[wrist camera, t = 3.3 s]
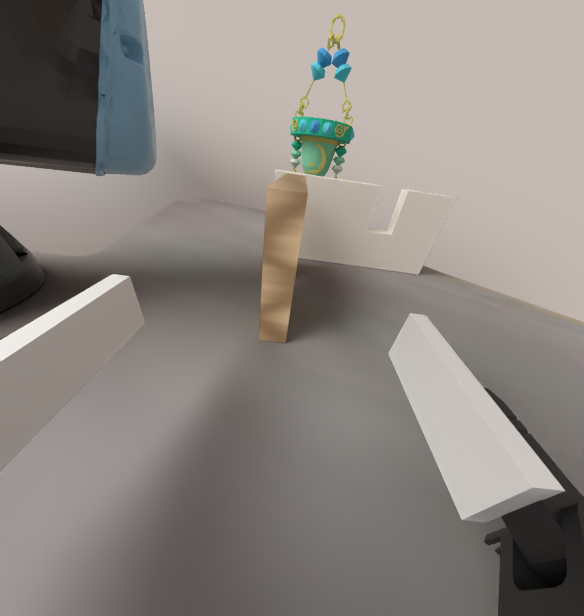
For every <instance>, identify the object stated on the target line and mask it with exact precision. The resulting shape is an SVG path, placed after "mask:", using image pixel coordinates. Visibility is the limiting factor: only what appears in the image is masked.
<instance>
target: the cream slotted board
mask: <svg viewBox="0 0 584 616" xmlns="http://www.w3.org/2000/svg"><path fill="white" fill-rule="evenodd" d="M286 173H289V174H296V175H302V176H305V177H306V183H307V190H308V197H307V203H306V210H305V217H304V223H303V230H302V237H301V243H300V250H299V257H298V258H302V259H309V260H316V261H324V262H331V263H338V264H345V265H353V266H360V267H367V268H375V269H382V270H389V271H396V272H404V273H411V274H418V275H419V273H420V271H421V269H422V267H423V265H424V263H425V261H426V259H427V257H428V255H429V253H430V251H431V249H432V247H433V245H434V243H435V241H436V239H437V237H438V235H439V233H440V231H441V230H442V227H443V226H444V224H445V222H446V220H447V217H448V215H449V214H450V212H451V210H452V208H453V206H454V204H455V202H456V200H457V198H456V197H452V196H447V195H441V194H434V193H427V192H421V191H413V190H407V189H402V191H401V193H400V196H399V199H398V202H397V205H396V207H395V210H394V213H393V215H392V218H391V221H390V223H389V226H388V229H387V231H384V230H377V229H370V228H369V226H370V223H371V220H372V217H373V214H374V211H375V208H376V205H377V201H378V198H379V195H380V192H381V189H382V186H379V185H374V184H368V183H362V182H355V181H348V180H342V179H335V178H329V177H322V176H316V175H309V174H302V173H296V172H289V171H282V170H275V175H274V182H275V181H276V180H278V179H279V178H280V177H282V176H283V175H285V174H286Z"/></svg>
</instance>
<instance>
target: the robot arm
mask: <svg viewBox="0 0 584 616" xmlns="http://www.w3.org/2000/svg"><path fill="white" fill-rule="evenodd" d="M155 163H156V134H155V120H154V107H153V95H152V84H151V73H150V61H149V51H148V41H147V31H146V21H145V12H144V4H143V0H0V164H7V165H16V166H25V167H35V168H44V169H53V170H63V171H72V172H81V173H92V174H96V176H103V175H105V174H125V175H142V174H146V173H148V172H149V171H150V170H151V169H152V168H153V167H154V165H155ZM44 278H45V275H44V273H43V271H42V269H41V267H40V266H39V264H38V262H37V261H36V259H35V257H34V256H33V254H32V253H31V252H30V251H29V250H28V249H27V248H25V247H24V246H23V245H22V244H21V243H20V242H19V241H17V240H16V239H15V238H14V237H13V236H12V235H11V234H10V233H8V232H7V231H6V230H5V229H4V228H3V227H2V226H1V225H0V312H1V311H3V310H5V309H7V308H9V307H11V306H13V305H15V304H17V303H19V302H20V301H22V300H24V299H25V298H27V297H28V296H30V295H31V294H33V293H34V292H35V291H36V290H37V289H38V288H39V287H40V286H41V285H42V283H43V282H44ZM144 324H145V321H144V318H143V315H142V312H141V308H140V305H139V302H138V299H137V296H136V293H135V290H134V287H133V284H132V281H131V278H130V276H124V275H116V274H112V275H110V276H108V277H107V278H105V279H103V280H102V281H100V282H98V283H97V284H95V285H93V286H91V287H90V288H88V289H86V290H85V291H83V292H81V293H80V294H78V295H76V296H74V297H73V298H71V299H69V300H68V301H66V302H64V303H63V304H61V305H59V306H57V307H56V308H54V309H52V310H51V311H49V312H47V313H46V314H44V315H42V316H41V317H39V318H37V319H35V320H34V321H32V322H30V323H29V324H27V325H25V326H24V327H22V328H20V329H18V330H17V331H15V332H13V333H12V334H10V335H8V336H5V337H3V338H0V472H1V471H2V470H3V468H4V467H5V466H6V465H7V464H8V463H9V462H10V461H11V460H12V459H13V458H14V457H15V456H16V455H17V454H18V453H19V452H20V451H21V450H22V449H23V448H24V447H25V446H26V445H27V444H28V443H29V442H30V441H31V440H32V439H33V438H34V437H35V436H36V435H37V434H38V433H39V432H40V431H41V430H42V429H43V428H44V427H45V426H46V425H47V423H48V422H49V421H50V420H51V419H52V418H53V417H54V416H55V415H56V414H57V413H58V412H59V411H60V410H61V409H62V408H63V407H64V406H65V405H66V404H67V403H68V402H69V401H70V400H71V399H72V398H73V397H74V396H75V395H76V394H77V393H78V392H79V391H80V390H81V389H82V388H83V387H84V386H85V385H86V384H87V383H88V382H89V381H90V380H91V378H92V377H93V376H94V375H95V374H96V373H97V372H98V371H99V370H100V369H101V368H102V367H103V366H104V365H105V364H106V363H107V362H108V361H109V360H110V359H111V358H112V357H113V356H114V355H115V354H116V353H117V352H118V351H119V350H120V349H121V348H122V347H123V346H124V345H125V344H126V343H127V342H128V341H129V340H130V339H131V338H132V337H133V336H134V334H135V333H136V332H137V331H138V330H139V329H140V328H141V327H142V326H143V325H144ZM388 354H389V356H390V359H391V361H392V363H393V366H394V368H395V370H396V372H397V375H398V377H399V379H400V381H401V384H402V386H403V388H404V390H405V393H406V395H407V397H408V399H409V402H410V404H411V406H412V409H413V411H414V413H415V415H416V418H417V420H418V422H419V424H420V427H421V429H422V431H423V433H424V436H425V438H426V440H427V443H428V445H429V447H430V449H431V452H432V454H433V456H434V458H435V461H436V463H437V465H438V467H439V470H440V472H441V474H442V477H443V479H444V481H445V483H446V486H447V488H448V490H449V492H450V495H451V497H452V499H453V501H454V504H455V506H456V508H457V510H458V513H459V515H460V517H461V520H466V521H476V522H489V521H492V520H494V519H497V518H499V517H502V519H503V521H504V522H505V524H506V526H507V528H504V529H501V530H498V531H495V532H492V533H490V534H488V535H486V538H485V540H484V542H485V543H486V544H487V545H491V544H495V543H498V542H501V546H500V547H498V548H497V549H495V551H496V552H497V553H498V554H499V555H500V580H499V606H498V616H584V497H583V496H582V495H581V494H580V493H579V491H578V490H577V489H576V488H575V487H574V486H573V485H572V483H571V482H570V481H569V480H568V479H567V477H566V476H565V475H564V474H563V473H562V471H561V470H560V469H559V468H558V467H557V465H556V464H555V463H554V462H553V461H552V459H551V458H550V457H549V456H548V455H547V453H546V452H545V451H544V450H543V449H542V447H541V446H540V445H539V444H538V443H537V441H536V440H535V439H534V438H533V437H532V435H531V434H528V433H527V429H526V428H525V427H524V426H523V425H522V423H521V422H520V421H517V419H516V418H517V417H516V416H515V415H514V414H513V413H512V411H511V410H510V409H509V408H508V407H507V405H506V404H505V403H504V402H503V401H502V400H501V399H499V398H498V397H497V396H496V395H495V394H494V393H492V392H491V391H490V390H489V389H487V388H483V387H482V385H481V384H480V383H479V382H478V380H477V379H476V378H475V377H474V375H473V374H472V373H471V372H470V370H469V369H468V368H467V367H466V365H465V364H464V363H463V362H462V360H461V359H460V358H459V357H458V355H457V354H456V353H455V351H454V350H453V349H452V348H451V346H450V345H449V344H448V343H447V341H446V340H445V339H444V338H443V336H442V335H441V334H440V333H439V331H438V330H437V329H436V328H435V326H434V325H433V324H432V323H431V321H430V320H429V319H428V318H427V316H426V315H420V314H413V313H410V314H409V316H408V318H407V320H406V322H405V323H404V325H403V327H402V329H401V331H400V333H399V334H398V336H397V338H396V340H395V342H394V344H393V346H392V347H391V349H390V351H389V353H388Z"/></svg>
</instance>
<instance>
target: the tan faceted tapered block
mask: <svg viewBox="0 0 584 616" xmlns="http://www.w3.org/2000/svg"><path fill="white" fill-rule="evenodd" d="M266 195H267V196H266V212H265V231H264V250H263V269H262V288H261V307H260V326H259V340H264V341H272V342H280V343H286V337H287V330H288V323H289V317H290V310H291V303H292V297H293V290H294V283H295V277H296V270H297V263H298V257H299V250H300V243H301V237H302V230H303V223H304V217H305V210H306V203H307V197H308V190H307V183H306V177H305V176H302V175H296V174H289V173H286V174H285V175H283V176H282V177H280V178H279V179H278V180H276V181H275V182H273V183H272V184H270V185H269V186H268V187H267V194H266Z"/></svg>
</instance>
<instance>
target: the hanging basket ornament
mask: <svg viewBox="0 0 584 616" xmlns="http://www.w3.org/2000/svg"><path fill="white" fill-rule="evenodd" d="M337 18H341V20H342V22H343V29H342V33H341V36H340V37H339V36H338V34H336V38H335V37H334V33H333V32H332V26H333V24H334V22H335V20H336V19H337ZM344 29H345V20H344V17H343V15H341V14H339V13H338V14H337V16H336V17H335V18H334V19H333V20H332V24H331V28H330V37H329V39H328V47H327V51H326V50H325V49H324V48H321V49H319V50H318V63H317V62H314V63H313V64H312V65H311V68H312V74H313V82H314V80H318V79H322V78H324V74H325V70H324V69H323V68H324V67H327V66H329V65H331V55H330V54H329V53H328V50H329V49H330V48H332V47H333V46H334V44H337V47H338V51H337V52H336V53H335V55H334V57H333V61H332V64H333V65H334V66H335V67H337V70H336V73H335V77H334V78H336V79H338V80H340V81H342V82H343V83H344V82H345V80H346V79H347V77H348V74H349V73H350V70H351V67H350V66H349V65H348V64H346V62H347V59H348V56H349V52H348V51H347V50H346V49H340V43H339V41H340V40H341V39H342V37H343V33H344ZM330 40H331V41H332V42H333V43H332V45H330ZM313 82H312V84H313ZM312 84H311V86H312ZM311 86H310V88H311ZM310 88H309V90H308V92H307V95H308V93H309V91H310ZM344 90H345V83H344ZM307 95H306V96H305V97H303V98H301V100H300V109H299V112H298V111H296V112H295V117H294V118H292V120H291V122H292V124H291V126H290V129H291V135H293V136H294V139H295V141H297V142H295V141H294V142H293V143H292V146H293V147H294V149H295V150H296V151H295V150H292V152H291V154H292V156H293V157H294V159H291V161H290V162H291V164H292V165H293V167H294V169H293V171H292V172H296V171H295V167H296V166H298V165H299V164H300V161H299V160H296V159H297V158H298V157H299V156H301V153H300V151H298V150H299V149H300V148H301V147H302V166H303V170H304V173H305V174H309V175H316V176H322V177H324V176H325V174H326V173H327V171H328V169H329V167H330V164H331V161H332V158H333V156H334V153H335V151H336V153H337V155H338V156H339V157H335V158H334V159H333V160H334V162H335V163H336V165H337V166H335V165H334V166H333V167H332V169H333V171H334V172H335V174H336V175H337V174H338V173H339V172H341V171H342V170H343V169H342V167H341V166H339V165H340V164H342V163H343V162H345V161H344V158H342V157H341V156H343V155H344V154H345V153H346V149H345V148H344V147H345V146H346V144H349V143H350V141H351V140H352V139H353V138H354V132H353V128H352V126H350V124H351V123H352V121H353V119H352V116H351V117H350V118H351V122H350V123H349V124H348V125H347V124H345V119H350V118H348V112H349V111H350V109H351V103H350V102H349V101H348V100H347V96H346V90H345V97H346V101H345V102H344V104H345V103H346V102H348V104H349V105H350V107H347V109H346V110H345V111H346V116H345V117H344V120H343V123H341V122H337V121H333V120H327V119H322V118H313V117H303V108H304V107H305V106H304V102H302V100H303V99H305V98H306V100H307V105H306V107H305V108H307V106H308V104H309V102H308V98H307ZM344 104H343V105H342V111H343V112H345V111H344V109H343V106H344ZM301 108H302V109H301ZM297 112H298V113H299V114H300V115H301V114H302V116H301V117H297V116H296V114H297ZM296 137H299V138H300V139H299V140H296ZM300 141H302V144H301V142H300ZM340 144H344V146H340ZM338 145H339V148H337V149H336V147H337V146H338ZM336 175H335V177H334V178H335V179H337V176H336Z"/></svg>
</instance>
